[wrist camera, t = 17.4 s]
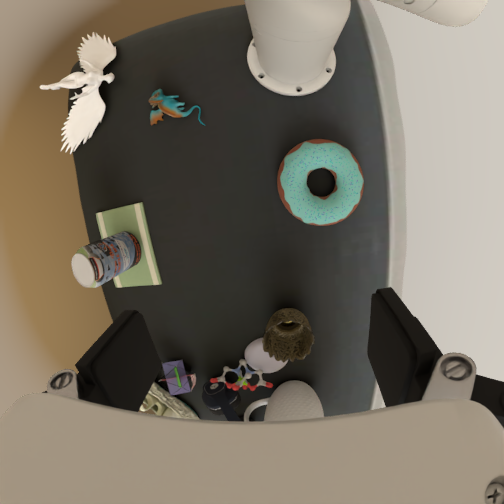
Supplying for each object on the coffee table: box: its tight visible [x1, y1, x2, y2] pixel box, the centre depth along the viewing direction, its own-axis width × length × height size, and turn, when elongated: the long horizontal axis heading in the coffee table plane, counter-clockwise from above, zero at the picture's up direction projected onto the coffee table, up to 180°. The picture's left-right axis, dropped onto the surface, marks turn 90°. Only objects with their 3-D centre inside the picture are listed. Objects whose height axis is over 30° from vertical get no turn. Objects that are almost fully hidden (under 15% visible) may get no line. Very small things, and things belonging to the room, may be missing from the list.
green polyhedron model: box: [159, 360, 196, 396], centre depth 47 cm, size 7×7×8 cm
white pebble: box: [245, 338, 288, 373], centre depth 46 cm, size 8×8×2 cm
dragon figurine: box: [149, 89, 205, 126], centre depth 34 cm, size 7×7×8 cm
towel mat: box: [96, 202, 162, 287], centre depth 43 cm, size 14×10×1 cm
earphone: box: [202, 380, 255, 422], centre depth 44 cm, size 20×7×18 cm
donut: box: [277, 139, 364, 226], centre depth 35 cm, size 12×12×4 cm
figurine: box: [40, 33, 116, 154], centre depth 31 cm, size 12×25×14 cm
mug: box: [244, 380, 324, 422], centre depth 44 cm, size 15×11×13 cm
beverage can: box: [72, 231, 142, 288], centre depth 37 cm, size 6×7×12 cm
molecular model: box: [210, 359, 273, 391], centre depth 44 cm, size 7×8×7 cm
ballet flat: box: [140, 382, 200, 420], centre depth 51 cm, size 9×24×8 cm, turn 36°
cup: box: [262, 307, 315, 363], centre depth 40 cm, size 8×7×8 cm
